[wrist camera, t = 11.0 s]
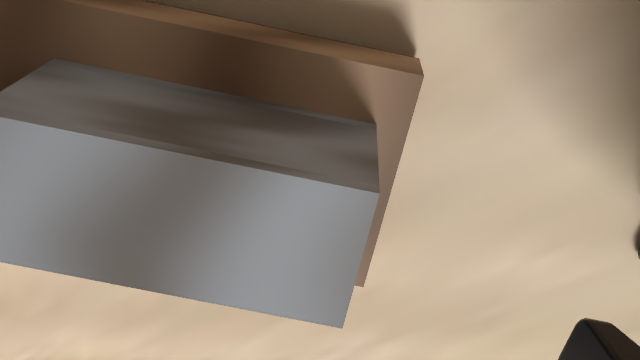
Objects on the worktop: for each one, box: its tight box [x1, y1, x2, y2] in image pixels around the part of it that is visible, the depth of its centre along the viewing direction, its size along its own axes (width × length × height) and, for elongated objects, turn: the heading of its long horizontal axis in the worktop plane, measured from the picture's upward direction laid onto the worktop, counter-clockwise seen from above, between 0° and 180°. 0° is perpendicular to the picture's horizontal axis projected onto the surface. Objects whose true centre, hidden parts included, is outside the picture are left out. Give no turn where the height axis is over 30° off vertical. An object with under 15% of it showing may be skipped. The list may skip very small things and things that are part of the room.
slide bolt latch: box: [0, 0, 424, 328], centre depth 18 cm, size 24×8×6 cm, turn 79°
